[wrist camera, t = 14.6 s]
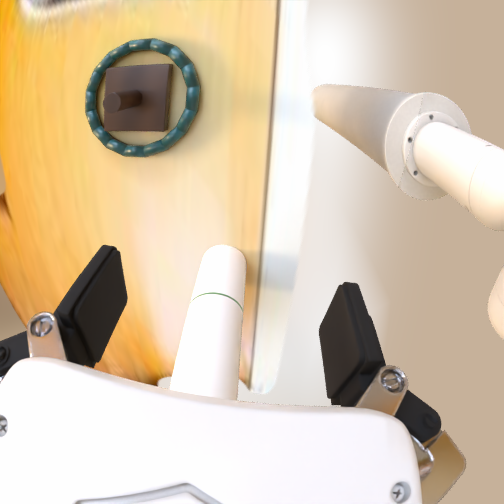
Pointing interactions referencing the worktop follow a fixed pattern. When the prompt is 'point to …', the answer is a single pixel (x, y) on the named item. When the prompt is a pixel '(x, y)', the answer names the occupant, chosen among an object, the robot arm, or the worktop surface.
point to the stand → (137, 98)
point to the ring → (185, 119)
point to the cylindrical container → (213, 327)
